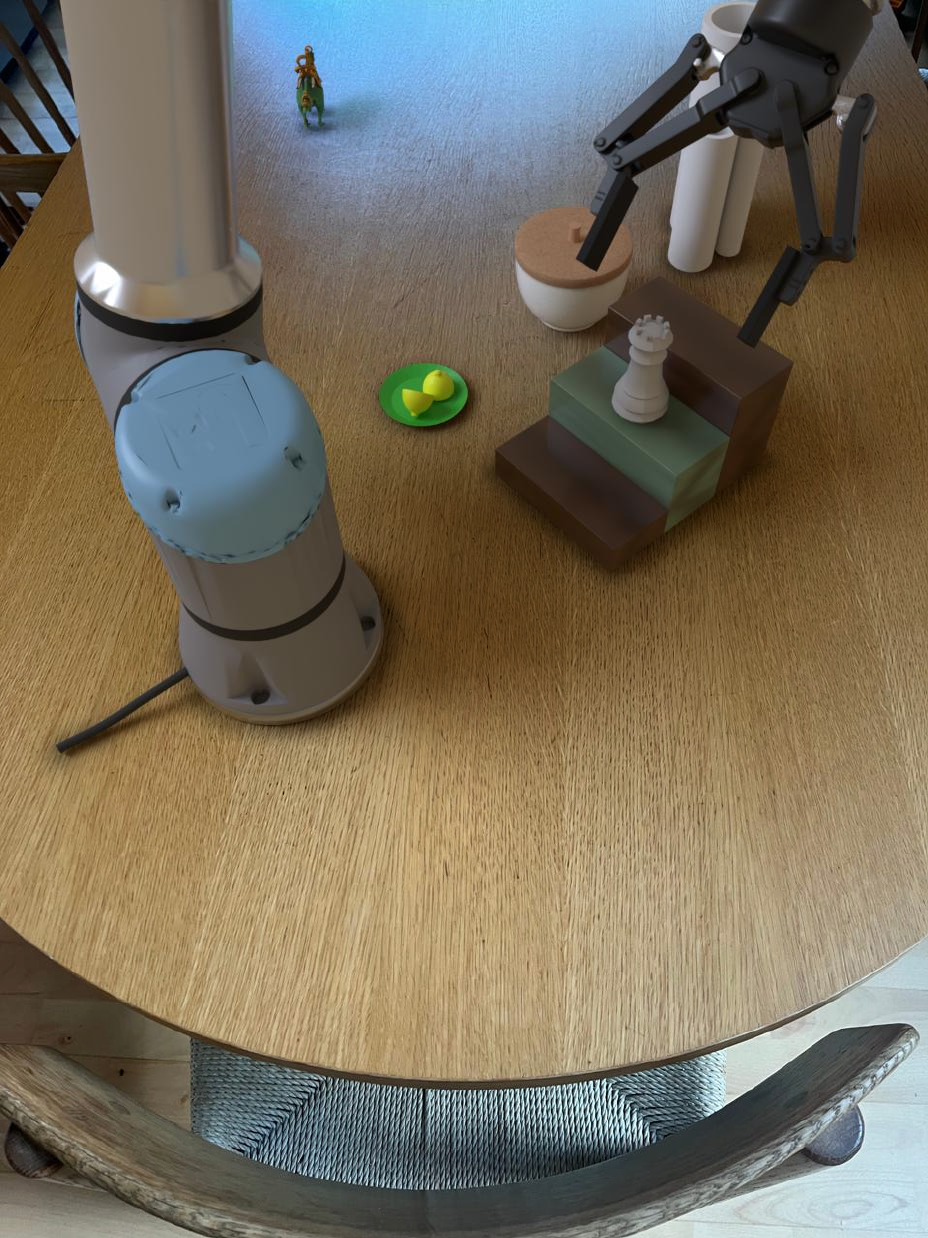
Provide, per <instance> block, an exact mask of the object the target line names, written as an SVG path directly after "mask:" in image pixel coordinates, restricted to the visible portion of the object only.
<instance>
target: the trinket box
mask: <svg viewBox="0 0 928 1238" xmlns="http://www.w3.org/2000/svg"><path fill="white" fill-rule="evenodd" d="M595 218H596V216H594V215H593V214H592V213H591V212H590V207H587V206H586V207H585V206H559V207H554V208H550V209H546V210H544V211H541V212H539V213H537V214H535V215H532V216H531V217H530V218H528V219H527V220H526V221H525V222H524V223H523V224H522V225H521V226H520V227H519V228H518V231H517V232H516V235H515V238H514V257H515V274H516V281H517V282H516V283H517V286H518V290H519V293H520V296H521V298H522V300H523V302H524V304H525V306H526V307H527V309H529V311H530V312H531V313H532V314H533V315H534V316H535V317H536V318H538V319H539V320H540V321H541V323H543V324H544V325H545V326H547V327H548V328H550V329H553V330H555V331H559V332H564V333H565V332H566V333H574V332H575V333H576V332H580V331H584V330H587V329H589V328H591V327H592V326H594V325H595V324H597V322H598V321H600V320H602V319H604V318H605V317H607V313H608V306H610V305H611V304H613V303H615V302H616V301H618V300H619V299H621V298H622V294H623V292H624V290H625V287H626V284H627V281H628V277H629V272H630V268H631V261H632V259H633V254H634V238H633V235H632V233H631V231H630V230H629V229H628V227H627V226H626V225H625V224H624V222H622V223H621V225H620V227H619V229H618V231H617V233H616V235H615V237H614V239H613V241H612V243H611V245H610V247H609V249H608V251H607V253H606V255H605V257H604V259H603V261H602V263H601V265H600V267H599V269H598V271H597V272H596V271H594V270H592V269H590V268H588V267H587V266H585V265H584V264H582V263H581V262H579V261H578V260H576V257H577V255H578V253H579V251H580V249H581V247H582V245H583V243H584V241H585V239H586V237H587V234H588V232H589V230H590V228H591V226H592V224H593V222H594V220H595Z"/></svg>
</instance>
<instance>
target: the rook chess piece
mask: <svg viewBox="0 0 928 1238" xmlns="http://www.w3.org/2000/svg"><path fill="white" fill-rule="evenodd" d="M663 318H664V317H661V316H659V315H657V317H656V320H651V314H650V315H644V320H643V321H642V319H640V318H638V320H637V321H636V323H635V325H634V326H633V327H632V328H631V330H630V331H629V335H628V337H629V340H630V342H631V344H632V346H631V347H630V350H629V354H630V356H631V360H630V363H629V366H628V370H627V372H626V373H625V374H624V375H623V376H622V378H621V379H620V380H619V381H618V382H617V384H616V385H615V389H614V394H613V397H612V405H613V407H614V410H615V411H616V412H617V413H618V414H619V415H620V416H621V417H622V418H623V419H625V420H627V421H629V422H631V423H638V424H644V423H650V422H652V421H654V420H656V419H658V418H660V417H661V416H663V414H664V413H665V412H666V411H667V408H668V398H669V390H668V387H667V385H666V383H665V380H664V378H663V376H662V363H663V361H664V359H665V358H666V357H667V351H666V348H668V347H669V345H670V344H671V343H672V341H673V335H672V332H671V330H670V329H669V328H670V325H669V322H668V321H667V322H664V323H663Z"/></svg>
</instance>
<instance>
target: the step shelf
mask: <svg viewBox="0 0 928 1238" xmlns="http://www.w3.org/2000/svg"><path fill="white" fill-rule="evenodd" d="M650 314H651V320H656V317H657V315H659V316H661V317H664V318H663V323H664V322H667V321H668V322H669V325H670V328H669V329H670V330H671V332H672V335H673V341H672V343H671V344H670V345H669V347H668V348H666V351H667V357H666V358H665V359H664V361H663V363H662V376H663V378H664V380H665V383H666V385H667V387H668V390H669V398H668V408H667V411H666V412H665V413H664V414H663V416H661V417H660V418H658V419H656V420H654V421H652V422H650V423H644V424H638V423H631V422H629V421H627V420H625V419H623V418H622V417H621V416H620V415H619V414H618V413H617V412H616V411H615V410H614V407H613V405H612V397H613V394H614V389H615V385H616V384H617V382H618V381H619V380H620V379H621V378H622V376H623V375H624V374H625V373H626V372H627V370H628V366H629V363H630V360H631V356H630V354H629V350H630V347H631V346H632V344H631V342H630V340H629V337H628V335H629V331H630V330H631V328H632V327H633V326H634V325H635V323H636V321H637V320H638V318H640V319H642V321H643V320H644V315H650ZM741 328H742V326H740V325H738V324H737V323H735V322H734V321H732V320H731V319H729V318H728V317H726V316H724V315H723V314H721V313H720V312H718V311H717V310H715V309H714V308H712V307H711V306H709V305H707V304H706V303H705V302H703V301H702V300H700V299H699V298H697V297H695V296H694V295H693V294H691V293H690V292H688V291H686V289H683V288H682V287H681V286H679V285H677V284H675V283H674V282H673V281H671V280H670V279H668V278H667V277H666V276H664V275H662V274H658V275H656V276H655V277H654V278H652V279H650V280H648V281H647V282H645V283H644V284H642V285H641V286H639V287H637V288H636V289H634V290H633V291H630V292H629V293H627V294H626V295H625V296H622V297H620V299H619V300H618V301H616V302H615V303H613V304H611V305H610V306H608V313H607V315H606V323H605V332H604V340H603V345H601V346H600V347H599V348H597V349H595V350H594V351H592V352H590V353H589V354H588V355H585V357H583V358H581V359H580V360H578V361H576V362H575V363H573V364H572V365H570V366H569V367H567V368H566V369H564V370H563V371H561V372H559V373H557V374H556V375H554V376H552V377H551V378H550V382H549V383H550V384H549V385H550V386H549V399H548V400H549V402H548V414H547V415H544V417H542V418H540V419H539V420H537V421H536V422H534V423H533V424H531V425H530V426H528V427H526V428H525V429H524V430H522V431H521V432H519V433H518V434H516V435H515V436H513V437H511V438H510V439H507V440H506V441H505V442H504V443H502V444H500V445H499V446H497V447H495V448H494V474H495V475H496V476H498V477H499V478H500V479H501V480H502V481H503V482H504V483H506V484H507V485H508V486H509V487H510V488H511V489H513V490H514V491H515V492H516V493H517V494H519V496H520V497H522V498H523V499H524V500H525V501H527V502H528V503H529V504H530V505H531V506H533V508H535V509H536V510H537V511H538V512H539V513H541V514H542V515H543V516H544V517H546V519H548V521H550V522H551V523H552V524H553V525H555V526H556V528H558V529H559V530H560V531H561V532H562V533H564V534H565V536H567V537H568V538H569V539H571V541H573V542H574V543H575V544H577V545H578V546H579V547H580V548H581V549H582V550H584V551H585V552H586V553H587V554H588V555H589V556H590V557H592V559H594V560H595V561H596V562H597V563H598V564H599V565H601V566H602V567H603V568H604V569H605V570H607V571H608V572H609V573H610V574H612V573H613V572H614V571H616V570H617V569H619V568H620V567H621V566H623V565H624V564H625V563H626V562H628V561H629V560H630V559H632V558H633V557H634V556H636V555H637V554H639V553H640V552H641V551H642V550H644V549H645V548H647V547H648V546H649V545H650V544H652V543H653V542H655V541H656V540H657V539H659V538H660V537H661V536H662V535H665V533H667V532H668V531H669V530H671V529H672V528H673V527H675V526H677V524H679V523H680V522H682V521H683V520H684V519H685V518H687V517H688V516H689V515H691V514H693V513H694V512H695V511H697V510H698V509H699V508H700V507H702V506H703V505H704V504H706V503H707V502H708V501H710V500H711V499H713V497H715V496H716V495H717V494H719V493H720V492H722V491H723V490H725V489H726V488H727V487H728V486H730V485H732V483H734V482H735V481H736V480H738V479H740V477H742V476H743V475H744V474H746V473H747V472H749V471H750V470H752V469H753V468H754V467H755V466H757V465H758V464H760V463H761V462H762V461H763V458H764V455H765V452H766V449H767V445H768V443H769V440H770V436H771V434H772V431H773V428H774V424H775V422H776V418H777V416H778V412H779V409H780V407H781V404H782V400H783V397H784V395H785V392H786V389H787V385H788V382H789V379H790V376H791V372H792V371H793V367H794V364H795V362H794V361H793V360H791V359H790V358H788V357H787V356H786V355H784V354H782V353H781V352H780V351H778V350H776V349H775V348H774V347H772V346H770V345H769V344H768V343H766V342H764V341H763V340H761V339H760V340H759V342H758V343H757V345H756V347H755V349H754V348H752V347H750V346H748V345H746V344H745V343H743V342H742V341H741V340H739V339H738V338H737V335H738V333H739V331H740V330H741Z"/></svg>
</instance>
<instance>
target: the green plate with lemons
mask: <svg viewBox="0 0 928 1238" xmlns="http://www.w3.org/2000/svg"><path fill="white" fill-rule="evenodd" d="M378 392H379V393H378V400H379V405H380V407H381V408H382V410H383V411H384V413H385V414H387V416H389V417H390V418H391V419H393V420H394V421H396V422H399V423H401V424H404V425H407V426H413V427H428V426H434V425H438V424H439V425H440V424H441V423H445V422H446V421H448V420H450V419H452V418H454V417H455V416H456V415H458V413H459V412H461V411H462V409H463V408H464V406H465V404H466V403H467V399H468V386H467V383H466V381H465V380H464V379H463V378H462V376H461V375H460V374H459V373H457V372H456V371H454V370H453V369H452V368H450V367H447V366H445V365H441V364H438V363H432V362H431V363H429V362H424V363H423V362H422V363H421V362H420V363H414V364H409V365H406V366H402V367H401V368H398V369H397V370H395V371H393V372H392V373H391V374H389V375H388V376H387V377H386V378H385V379H384V381H383V383H381V386H380V388H379V391H378Z"/></svg>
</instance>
